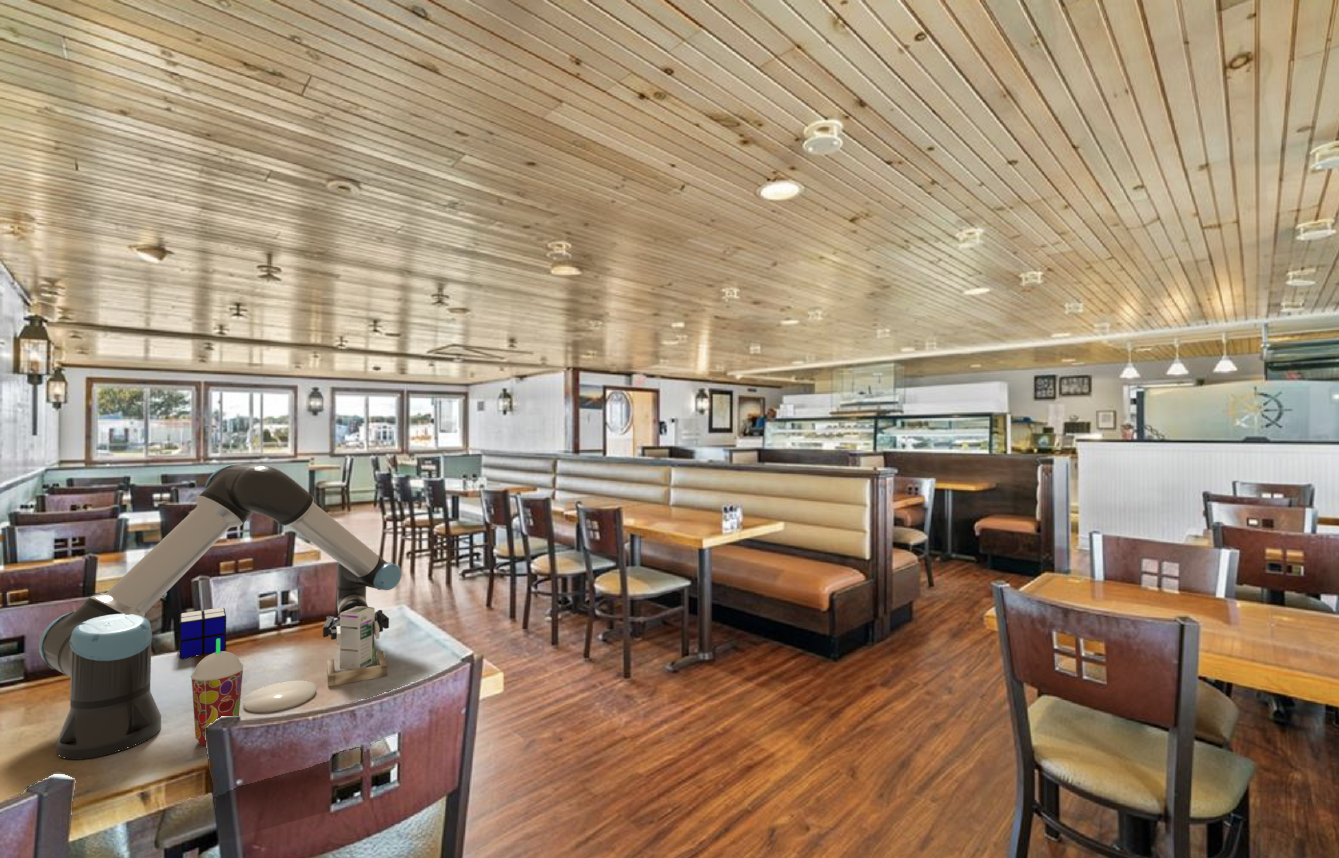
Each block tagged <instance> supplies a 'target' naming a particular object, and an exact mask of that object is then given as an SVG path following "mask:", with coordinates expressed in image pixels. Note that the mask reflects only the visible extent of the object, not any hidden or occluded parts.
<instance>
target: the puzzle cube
mask: <svg viewBox="0 0 1339 858" xmlns="http://www.w3.org/2000/svg"><path fill="white" fill-rule="evenodd" d="M178 638H179V640H178V641H179V653H180V654H179V653H178V654H179V655H178V658H179V660H183V659H184V658H185V659H190V658H189V657H191V658H195V657H194V656H196V655H202V654H203V655H204V654H207V655H210V653H215V652H216V639H218V638H220V651H226V652H227V613H226V609H225V607H217V608H211V609H209V608H208V609H203V610H196V611H190V612H183V613H180V614H179V637H178ZM203 655H202V656H203ZM196 657H197V656H196ZM185 659H184V660H185Z"/></svg>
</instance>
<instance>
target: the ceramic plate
mask: <svg viewBox="0 0 1339 858" xmlns="http://www.w3.org/2000/svg"><path fill="white" fill-rule="evenodd" d="M316 693H317V686H316V684H315V683H313V682H311V681H307V680H289V681H282V682H278V683H277V682H276V683H273V684H268V685H266V686H263V687H260V688H258V689H255V690H254V691H251V692H249V693H248V694H247V695H246V696H245V697H244V698H243V703H242V707H243V709H244V710H245V711H248V712H252V713H271V712H272V713H273V712H279V711H283V710H286V709H291V708H294V707H296V706H299V705H301V704H304V703H306V702H308V701H309V700H310V699H312V698H314V696H315V695H316ZM278 710H279V711H278Z"/></svg>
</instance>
